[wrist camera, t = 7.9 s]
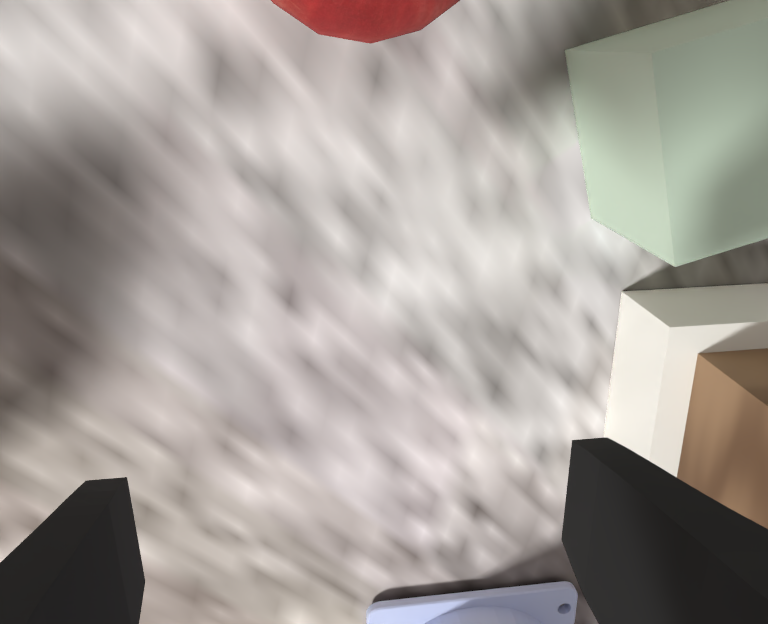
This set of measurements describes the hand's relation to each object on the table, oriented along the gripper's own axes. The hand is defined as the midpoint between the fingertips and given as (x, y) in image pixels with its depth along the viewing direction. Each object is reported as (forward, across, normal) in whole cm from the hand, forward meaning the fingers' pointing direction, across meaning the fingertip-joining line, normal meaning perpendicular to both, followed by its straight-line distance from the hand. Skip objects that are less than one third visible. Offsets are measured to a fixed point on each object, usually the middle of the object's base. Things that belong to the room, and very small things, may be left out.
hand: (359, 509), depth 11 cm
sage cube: (+10, -10, -5) cm, 15 cm away
